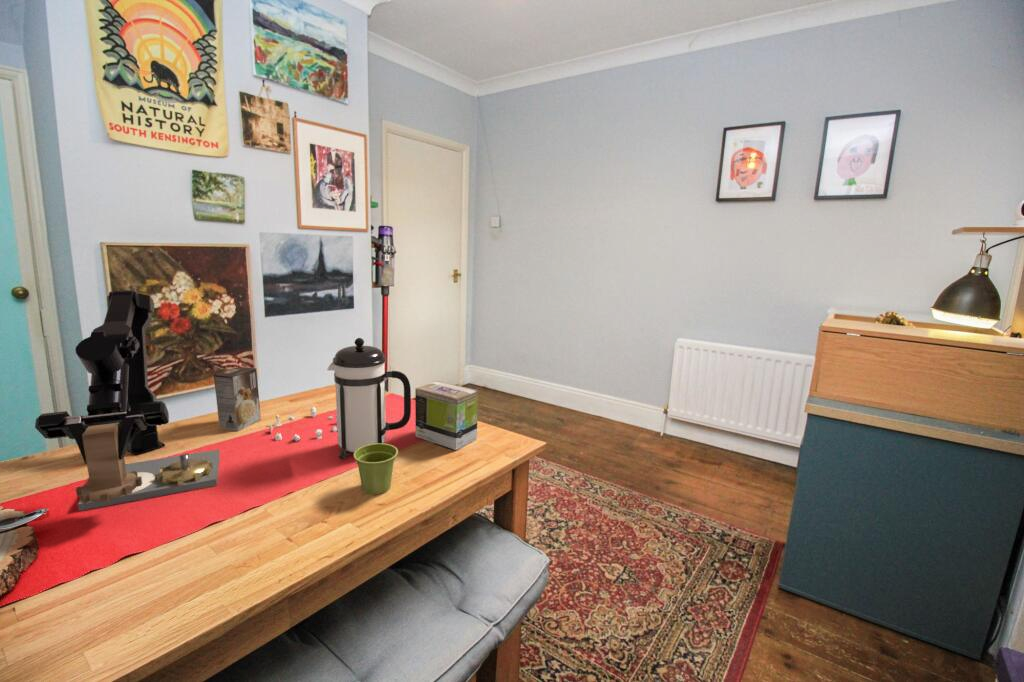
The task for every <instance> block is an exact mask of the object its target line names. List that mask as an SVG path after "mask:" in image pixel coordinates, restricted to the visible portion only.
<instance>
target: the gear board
mask: <svg viewBox="0 0 1024 682" xmlns="http://www.w3.org/2000/svg"><path fill="white" fill-rule="evenodd" d="M187 454H188V455H189V458H193V459H201V458H207V462H209V461H212V463H213V469H211V474H210V475H205V476H203V477H201V480H199V481H191V482H187V483H184V485H179V486H178V484H169V485H168V486H166V485H163V481H161V482H158V478H157V474H158V473H160V469H161V468H162V467H167V466H169V465H171V464H172V462H175V461H177V462H180V455H176V456H175V455H174V456H168V457H162V458H155V459H149V460H143V461H137V462H130V463H129V462H128V463H125V466H126V472H127V473H130V472H132V471H136V472H137V475H138V477H141V478H142V485H141V486H137V487H136V488H135V489H134V490H132V493H131V494H129V495H127V496H125V495H123V496H120V497H117V498H114V499H110V500H109V501H108V502H104V503H101V501H98V502H91V501H89V502H87V503H81V501H80V500H79V502H78V503H77V508H78V512H83V511H88V510H93V509H97V508H98V509H99V508H104V507H108V506H109V507H110V506H114V505H115V506H116V505H120V504H126V503H131V502H135V501H140V500H147V499H151V498H156V497H162V496H168V495H172V494H178V493H184V492H188V491H194V490H198V489H204V488H209V487H210V488H211V487H215V486H218V478H219V469H220V468H219V467H220V466H219V465H220V458H219V457H220V456H221V455H220V449H212V450H207V451H206V450H205V451H201V452H200V451H199V452H193V453H187Z"/></svg>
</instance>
